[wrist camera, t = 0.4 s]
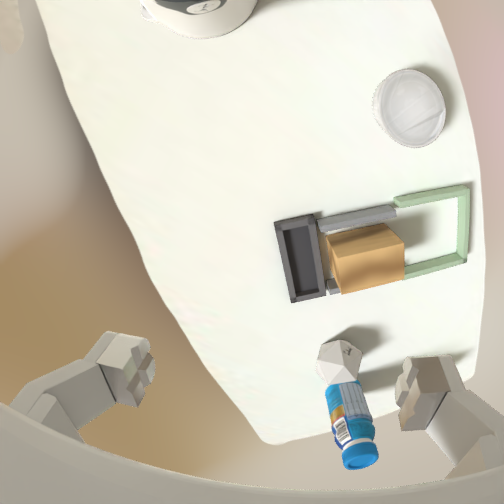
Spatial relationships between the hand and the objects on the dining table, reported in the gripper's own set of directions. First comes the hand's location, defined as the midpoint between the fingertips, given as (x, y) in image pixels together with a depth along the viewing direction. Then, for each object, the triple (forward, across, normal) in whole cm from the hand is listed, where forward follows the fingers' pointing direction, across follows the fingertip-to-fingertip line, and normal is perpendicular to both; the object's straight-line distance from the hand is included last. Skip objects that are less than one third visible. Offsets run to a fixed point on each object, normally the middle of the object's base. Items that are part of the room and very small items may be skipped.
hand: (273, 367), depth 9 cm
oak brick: (+42, -10, +14) cm, 45 cm away
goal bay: (+44, -23, +11) cm, 50 cm away
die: (+42, -8, +35) cm, 55 cm away
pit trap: (+40, -1, +16) cm, 43 cm away
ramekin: (+42, -15, -9) cm, 46 cm away
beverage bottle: (+42, -12, +48) cm, 65 cm away
